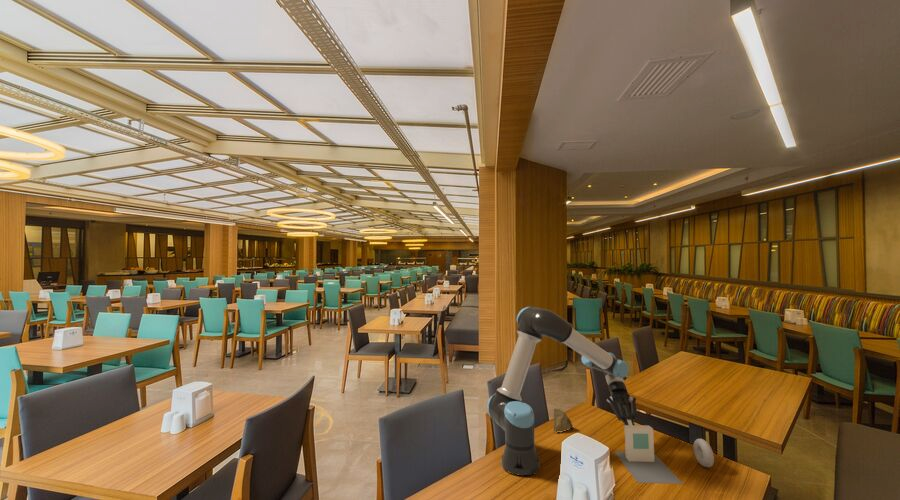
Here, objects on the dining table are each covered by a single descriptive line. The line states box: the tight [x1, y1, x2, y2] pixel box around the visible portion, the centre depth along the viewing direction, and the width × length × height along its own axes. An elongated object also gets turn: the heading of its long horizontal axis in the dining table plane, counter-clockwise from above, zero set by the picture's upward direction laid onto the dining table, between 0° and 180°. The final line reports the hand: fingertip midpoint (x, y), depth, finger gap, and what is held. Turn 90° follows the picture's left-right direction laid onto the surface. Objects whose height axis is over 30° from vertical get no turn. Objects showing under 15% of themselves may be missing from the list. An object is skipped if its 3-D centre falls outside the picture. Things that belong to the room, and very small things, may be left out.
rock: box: [553, 408, 574, 433], centre depth 173 cm, size 11×9×10 cm
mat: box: [614, 451, 684, 485], centre depth 140 cm, size 22×16×1 cm
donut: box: [692, 438, 715, 468], centre depth 141 cm, size 10×4×10 cm, turn 175°
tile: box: [623, 424, 655, 462], centre depth 145 cm, size 3×10×13 cm, turn 86°
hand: (633, 436), depth 151 cm, fingers closed
